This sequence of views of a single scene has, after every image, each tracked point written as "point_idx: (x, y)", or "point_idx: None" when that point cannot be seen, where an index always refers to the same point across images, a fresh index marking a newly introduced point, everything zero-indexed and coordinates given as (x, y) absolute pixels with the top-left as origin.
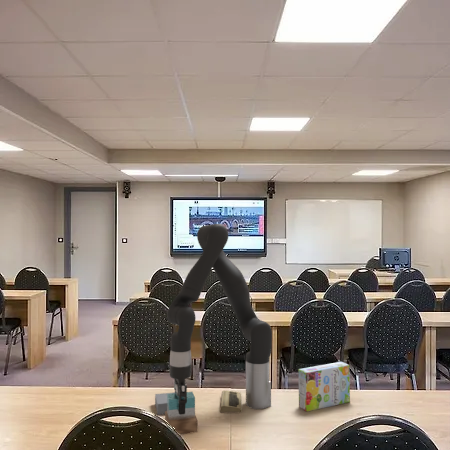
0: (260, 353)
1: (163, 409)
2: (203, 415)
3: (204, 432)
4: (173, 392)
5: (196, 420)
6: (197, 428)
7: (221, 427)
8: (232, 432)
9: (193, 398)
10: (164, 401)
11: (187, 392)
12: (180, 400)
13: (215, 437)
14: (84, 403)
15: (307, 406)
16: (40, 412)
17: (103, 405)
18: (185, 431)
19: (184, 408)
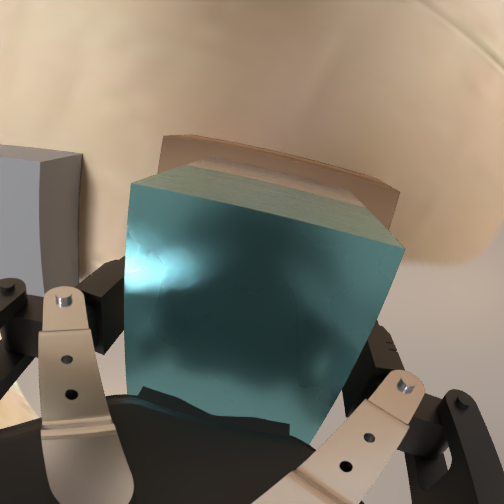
0: None
1: (63, 277)
2: (166, 52)
3: (399, 143)
4: None
5: (397, 200)
6: (382, 182)
7: (383, 24)
8: (457, 17)
9: (392, 267)
10: (24, 276)
11: (139, 268)
12: (442, 464)
13: (474, 123)
14: (10, 413)
15: None
16: None
17: (13, 392)
18: None
19: (379, 341)
